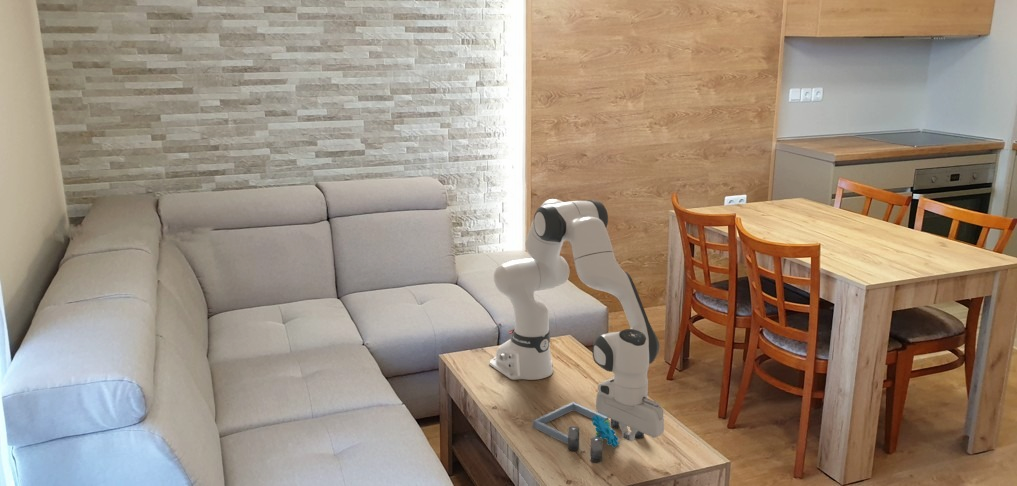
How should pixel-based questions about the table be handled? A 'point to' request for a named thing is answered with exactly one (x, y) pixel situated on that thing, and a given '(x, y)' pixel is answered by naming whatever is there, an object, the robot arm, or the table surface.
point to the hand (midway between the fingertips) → (628, 439)
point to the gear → (605, 430)
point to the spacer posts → (592, 441)
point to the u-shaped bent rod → (541, 421)
